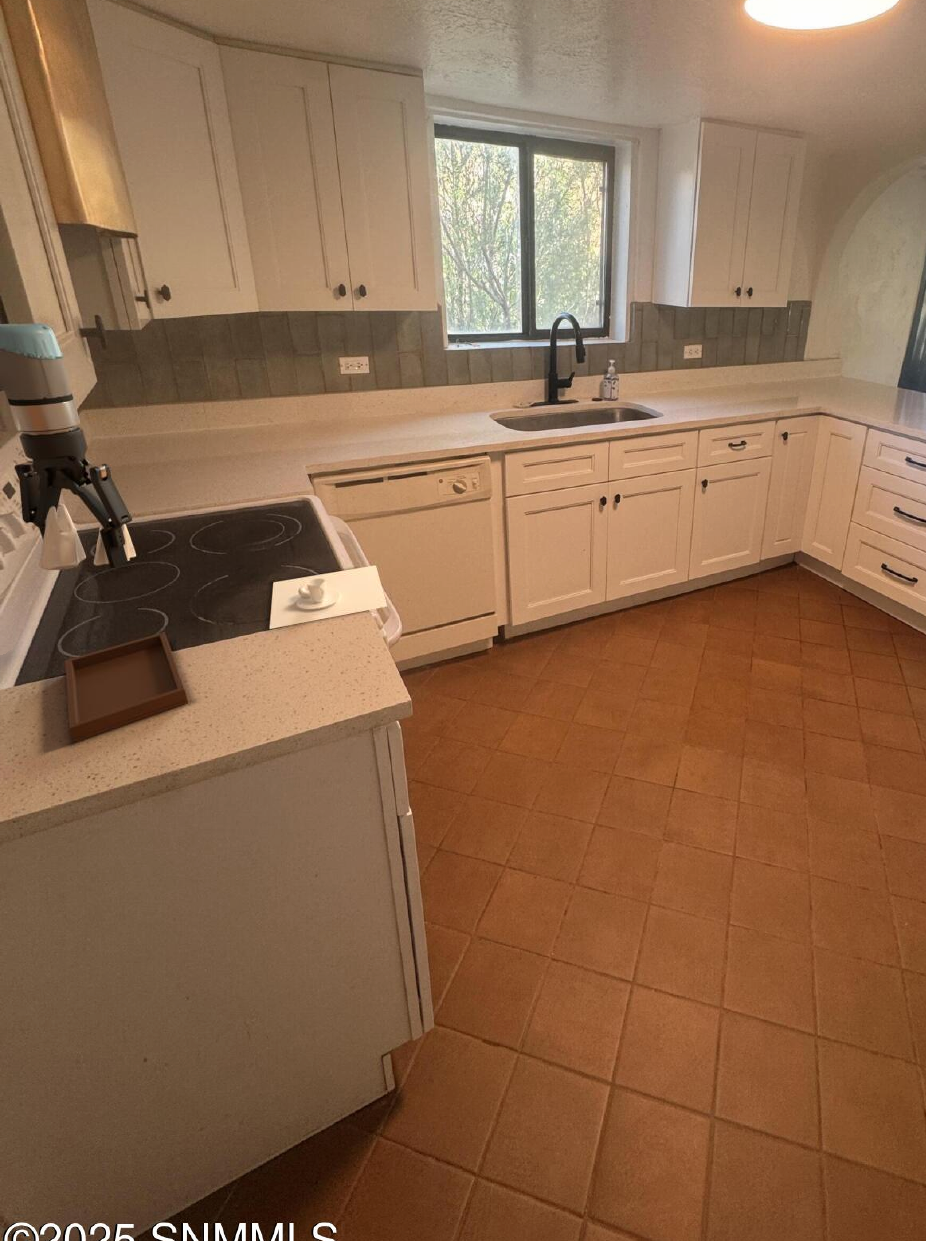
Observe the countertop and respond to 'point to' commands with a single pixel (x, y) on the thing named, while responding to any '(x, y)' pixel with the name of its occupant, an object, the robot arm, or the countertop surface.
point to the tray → (121, 686)
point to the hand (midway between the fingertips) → (91, 563)
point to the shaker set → (71, 543)
